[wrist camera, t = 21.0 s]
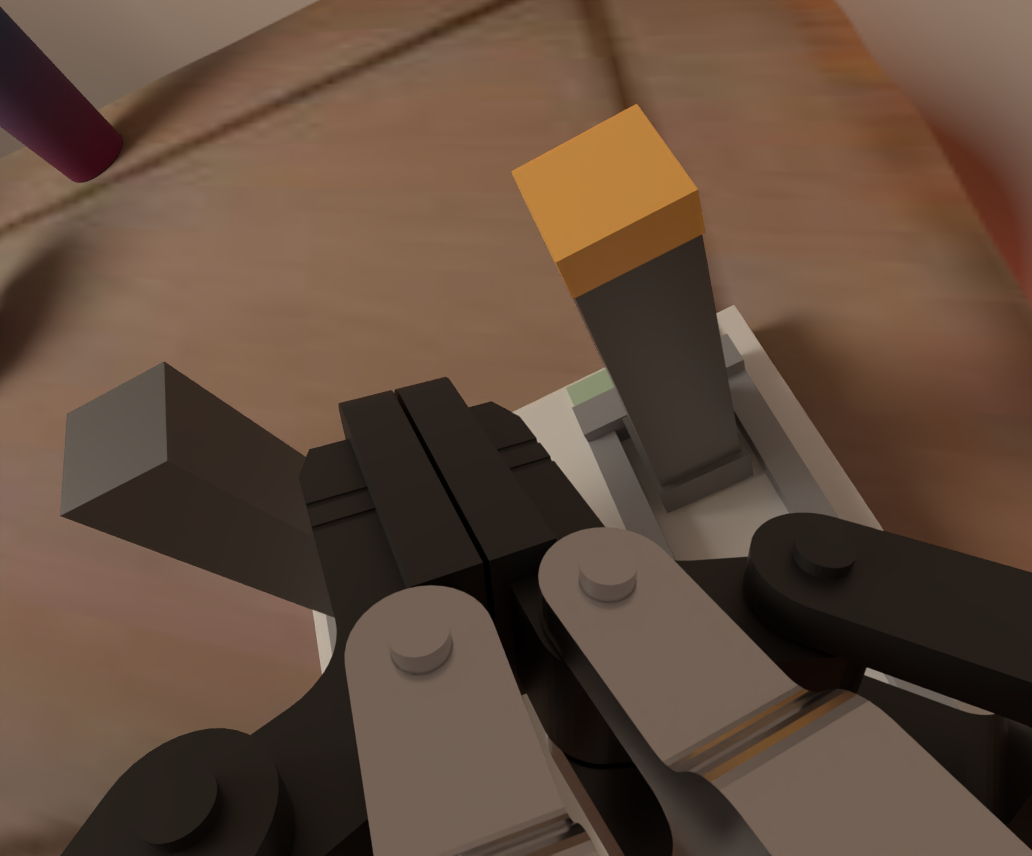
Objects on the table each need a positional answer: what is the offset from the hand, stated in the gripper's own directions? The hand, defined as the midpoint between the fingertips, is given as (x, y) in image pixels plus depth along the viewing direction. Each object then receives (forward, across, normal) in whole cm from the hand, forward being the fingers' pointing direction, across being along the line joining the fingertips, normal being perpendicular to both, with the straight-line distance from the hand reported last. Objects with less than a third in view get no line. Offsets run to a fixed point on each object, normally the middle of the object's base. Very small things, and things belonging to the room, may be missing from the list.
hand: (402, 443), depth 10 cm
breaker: (+7, +11, -9) cm, 15 cm away
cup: (+56, -10, -6) cm, 57 cm away
